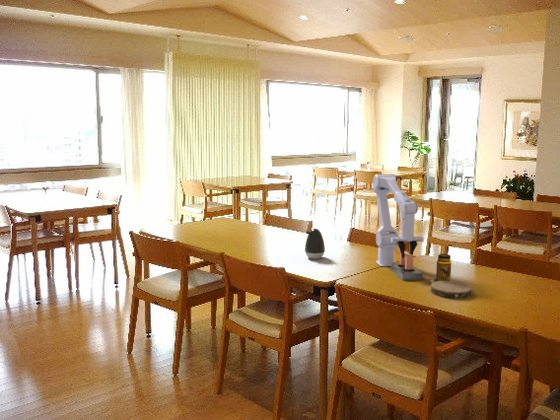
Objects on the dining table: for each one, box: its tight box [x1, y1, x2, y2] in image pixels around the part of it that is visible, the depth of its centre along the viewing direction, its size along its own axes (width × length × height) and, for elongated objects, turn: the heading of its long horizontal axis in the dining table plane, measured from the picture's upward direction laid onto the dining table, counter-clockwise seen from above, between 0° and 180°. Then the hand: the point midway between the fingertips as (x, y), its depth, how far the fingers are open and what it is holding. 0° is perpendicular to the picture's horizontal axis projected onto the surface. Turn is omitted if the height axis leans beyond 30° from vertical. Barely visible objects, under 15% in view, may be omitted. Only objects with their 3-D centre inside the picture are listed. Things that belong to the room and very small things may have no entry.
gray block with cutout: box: [390, 262, 423, 281], centre depth 258 cm, size 18×9×3 cm, turn 5°
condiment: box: [429, 253, 453, 283], centre depth 246 cm, size 7×8×12 cm
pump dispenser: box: [304, 228, 326, 260], centre depth 287 cm, size 10×10×15 cm
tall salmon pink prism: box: [399, 250, 414, 270], centre depth 257 cm, size 10×3×6 cm, turn 5°
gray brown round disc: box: [430, 280, 473, 300], centre depth 231 cm, size 16×16×3 cm
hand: (406, 257), depth 257 cm, fingers closed on tall salmon pink prism, 3 cm apart
